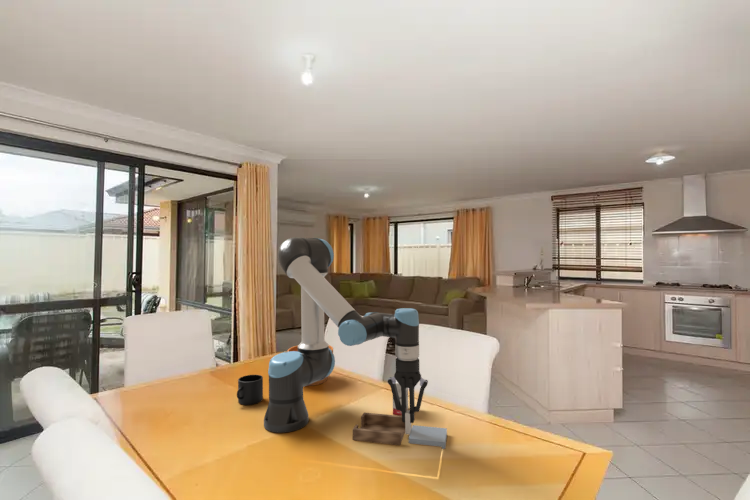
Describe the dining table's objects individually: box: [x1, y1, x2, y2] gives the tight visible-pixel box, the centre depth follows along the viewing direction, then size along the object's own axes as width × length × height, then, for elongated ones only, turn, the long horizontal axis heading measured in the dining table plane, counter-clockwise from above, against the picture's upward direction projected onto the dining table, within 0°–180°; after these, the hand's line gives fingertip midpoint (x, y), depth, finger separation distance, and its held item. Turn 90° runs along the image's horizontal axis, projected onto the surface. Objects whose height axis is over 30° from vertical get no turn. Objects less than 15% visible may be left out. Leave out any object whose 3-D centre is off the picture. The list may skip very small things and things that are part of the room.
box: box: [352, 412, 406, 446], centre depth 122 cm, size 15×13×4 cm
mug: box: [236, 374, 264, 406], centre depth 151 cm, size 9×12×9 cm
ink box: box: [392, 380, 409, 416], centre depth 139 cm, size 9×5×12 cm, turn 168°
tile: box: [408, 424, 448, 450], centre depth 118 cm, size 11×9×3 cm
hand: (408, 432), depth 119 cm, fingers closed
